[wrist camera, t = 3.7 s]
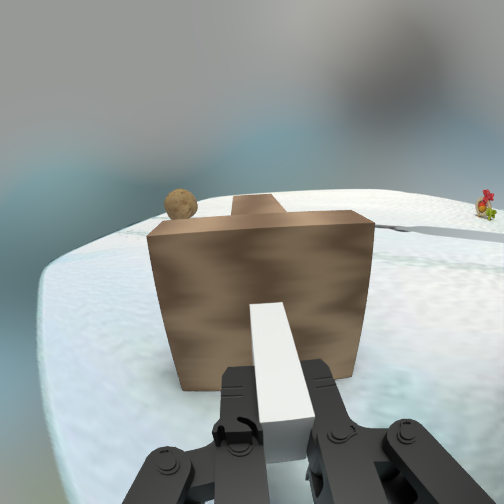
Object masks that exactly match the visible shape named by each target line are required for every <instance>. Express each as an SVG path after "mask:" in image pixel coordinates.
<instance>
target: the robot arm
mask: <svg viewBox="0 0 504 504" xmlns="http://www.w3.org/2000/svg"><path fill="white" fill-rule="evenodd" d="M250 321H251V341H252V357H253V366H236V367H227V369H226V370H225V372H224V374H223V375H222V383H221V404H220V419H219V420H218V421H217V422H216V423H215V424H214V427H213V430H212V435H213V438H214V441H213V442H212V443H210V444H209V445H207V446H205V447H202V448H199V449H195V450H191V451H186V452H184V451H183V450H181V449H178V448H176V447H169V446H166V447H160V448H157V449H156V450H154V451H152V452H151V453H150V454H149V455H148V457H147V458H146V460H145V462H144V464H143V465H142V467H141V469H140V471H139V473H138V475H137V477H136V478H135V480H134V482H133V484H132V486H131V488H130V489H129V491H128V493H127V495H126V497H125V499H124V501H123V502H122V504H205V501H209V500H213V499H214V504H270V502H269V493H268V483H267V474H266V464H265V463H277V462H286V461H294V460H302V459H306V455H307V457H308V461H309V466H308V469H307V473H306V479H305V481H306V480H309V481H310V486H311V491H312V496H313V501H314V504H496V503H495V502H494V501H493V500H492V499H491V498H490V497H489V495H488V494H487V493H486V492H485V491H484V490H483V489H482V488H481V487H480V486H479V485H478V484H477V483H476V482H475V481H474V479H473V478H472V477H471V476H470V475H469V474H468V473H467V472H466V471H465V470H464V469H463V468H462V467H461V466H460V465H459V464H458V463H457V461H456V460H455V459H454V458H453V457H452V456H451V455H450V454H449V453H448V452H447V451H446V450H445V449H444V448H443V447H442V446H441V445H440V443H439V442H438V441H437V440H436V439H435V438H434V437H433V436H432V435H431V434H430V433H429V432H428V431H427V430H426V429H425V428H424V427H423V426H422V425H421V424H420V423H419V422H417V421H415V420H412V419H401V420H398V421H395V422H394V423H393V424H392V425H391V426H390V427H389V428H365V427H362V426H359V425H357V424H356V423H355V422H353V421H352V420H351V419H350V417H349V416H348V414H347V411H346V408H345V406H344V403H343V401H342V398H341V396H340V393H339V390H338V388H337V386H336V383H335V380H334V378H333V375H332V373H331V370H330V368H329V366H328V365H327V364H326V363H325V362H324V361H323V360H321V359H312V360H303V361H299V357H298V354H297V351H296V347H295V344H294V340H293V337H292V333H291V330H290V326H289V323H288V320H287V316H286V313H285V309H284V306H283V303H282V302H279V303H264V304H250Z"/></svg>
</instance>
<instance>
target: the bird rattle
mask: <svg viewBox="0 0 504 504" xmlns="http://www.w3.org/2000/svg"><path fill="white" fill-rule="evenodd" d="M483 193H484V196H485V197H481V198H479V199H478V200H477V202H476V211H477V213H478V217H481V216H482V217H485V216H488V220H490V219H491V216H492V217H493V218H495V214H496V213H497V212H496V210H492V209H491V203H490V200H491V201H493V196H494V194H492V193H490V192H489V190H488V189H487V190H483ZM482 201H483V202H482ZM484 202H485V203H486V204H487V206H488V208H487V207H486V204H485V203H484ZM486 209H487V210H486ZM485 211H486V212H485ZM483 212H484V213H483Z"/></svg>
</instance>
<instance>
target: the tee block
mask: <svg viewBox="0 0 504 504" xmlns="http://www.w3.org/2000/svg"><path fill="white" fill-rule="evenodd" d="M374 230H375V223H374V222H373V221H371V220H369V219H367V218H365V217H363V216H362V215H360V214H358V213H356V212H354V211H352V210H336V211H307V212H286V211H285V209H284V208H283V207H282V206H281V205H280V204H279V202H278V201H277V200H276V199H275V198H274V197H273V196H272V194H259V195H242V196H233V203H232V211H231V216H216V217H203V218H190V219H178V220H167V221H162V222H161V223H160V224H159V225H158V226H157V227H156V228H155V229H154V230H153V231H151V232H150V233H149V234H148V235H147V236H146V237H147V243H148V249H149V255H150V260H151V266H152V271H153V276H154V281H155V286H156V291H157V296H158V300H159V305H160V309H161V314H162V318H163V322H164V326H165V330H166V334H167V338H168V342H169V346H170V349H171V353H172V356H173V360H174V364H175V367H176V370H177V374H178V377H179V380H180V384H181V387H182V390H183V391H221V383H222V375H223V374H224V372H225V370H226V369H227V367H236V366H253V357H252V341H251V321H250V304H264V303H279V302H282V303H283V306H284V309H285V313H286V316H287V320H288V323H289V326H290V330H291V333H292V337H293V340H294V344H295V347H296V351H297V354H298V357H299V361H303V360H312V359H321V360H323V361H324V362H325V363H326V364H327V365H328V366H329V368H330V370H331V373H332V375H333V378H334V380H336V379H341V378H347V377H352V373H353V369H354V365H355V360H356V356H357V351H358V346H359V342H360V336H361V331H362V326H363V320H364V314H365V308H366V302H367V295H368V288H369V280H370V272H371V263H372V254H373V243H374Z"/></svg>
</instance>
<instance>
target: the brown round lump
mask: <svg viewBox="0 0 504 504" xmlns="http://www.w3.org/2000/svg"><path fill="white" fill-rule="evenodd" d="M164 206H165V210H166V212H167V214H168V216H169V217H170V219H171V220H178V219H189V218H190V217H192V216H193V215H194V214H195V213H196V211H197V208H198V206H197V201H196V199H195V197H194V196H193V194H192V193H190V192H189V191H187V190H185V189H176V190H174V191H172V192H170V193H169V194H168V196H167V197H166V199H165V202H164Z"/></svg>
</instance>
